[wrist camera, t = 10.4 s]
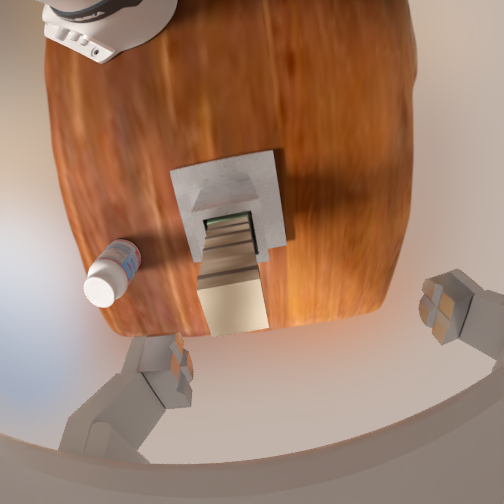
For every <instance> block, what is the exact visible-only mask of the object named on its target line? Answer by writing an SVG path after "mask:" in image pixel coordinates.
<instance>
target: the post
mask: <svg viewBox="0 0 504 504" xmlns="http://www.w3.org/2000/svg"><path fill="white" fill-rule="evenodd" d="M207 225H208V228H207V230H206V232H207V234H206V237H205V244H204V249H203V256H202V261H201V267H200V273H199V276H198V279H197V280H198V285H197V293H198V296H199V299H200V302H201V305H202V308H203V311H204V314H205V317H206V320H207V323H208V326H209V329H210V332H211V335H212V337H217V336H224V335H230V334H236V333H242V332H248V331H253V330H259V329H264V328H269V325H268V320H267V311H266V306H265V300H264V295H263V289H262V284H261V279H260V273H259V268H258V265H257V260H256V255H255V250H254V244H253V239H252V234H251V229H250V223H249V218H248V213H247V212H246V211H244V212H239V213H234V214H229V215H224V216H219V217H214V218H209V219H208V221H207Z"/></svg>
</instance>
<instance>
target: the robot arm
mask: <svg viewBox="0 0 504 504" xmlns="http://www.w3.org/2000/svg"><path fill="white" fill-rule="evenodd" d="M37 1H40V2H42V3H45V7H44V10H43V14H42V18H43V21H45V22H46V24H45V30H44V35H45V36H46V37H48V38H49V39H51V40H54V41H56V42H58V43H60V44H62V45H64V46H66V47H68V48H70V49H72V50H74V51H76V52H78V53H80V54H82V55H84V56H86V57H88V58H90V59H92V60H94V61H96V62H98V63H101V64H102V63H105V62H107V61H109V60H110V59H112V58H113V57H114V56H115V55H117V54H118V53H119V52H121V51H124V50H127V49H130V48H133V47H136V46H138V45H140V44H143V43H144V42H146V41H148V40H150V39H151V38H152V37H154V36H155V35H157V34H158V33H159V32H160V31H161V30H162V29H163V28H164V27H165V26H166V25H167V23H168V22H169V21H170V19H171V18H172V16H173V14H174V12H175V9H176V6H177V0H37ZM97 51H99V53H98V54H97V55H96V52H97ZM422 291H423V292H424V295H423V297H422V298H421V300H420V303H419V314H420V317H421V319H422V321H423V323H424V324H425V325H426V326H429V327H431V328H432V334H433V335H434V336H435V338H436V339H437V340H438V341H439V343H440V344H441V345H444V344H445V343H448V342H451V341H453V340H455V339H458V338H459V339H460V340H462V341H464V342H465V343H467V344H469V345H470V346H472V347H474V348H476V349H478V350H479V351H481V352H483V353H485V354H487V355H488V356H490V357H492V358H494V359H495V360H497V361H496V363H495V365H494V367H493V369H492V373H491V374H490V375H488V376H487V377H485V378H483V379H482V380H480V381H479V382H477V383H475V384H474V385H472V386H470V387H469V388H467V389H465V390H463V391H461V392H460V393H458V394H456V395H454V396H452V397H451V398H449V399H447V400H445V401H443V402H441V403H439V404H437V405H435V406H433V407H431V408H429V409H426V410H424V411H422V412H420V413H418V414H415V415H413V416H411V417H408V418H406V419H404V420H401V421H399V422H397V423H394V424H391V425H389V426H386V427H383V428H381V429H378V430H375V431H372V432H369V433H366V434H364V435H360V436H357V437H354V438H351V439H347V440H344V441H341V442H337V443H333V444H330V445H326V446H322V447H318V448H314V449H310V450H305V451H301V452H296V453H291V454H285V455H280V456H275V457H268V458H261V459H254V460H246V461H236V462H225V463H209V464H150V462H149V461H148V460H147V459H146V458H145V457H143V455H141V454H140V453H139V452H138V451H137V450H138V449H139V447H140V446H141V444H142V443H143V441H144V440H145V439H146V437H147V436H148V435H149V433H150V432H151V430H152V429H153V428H154V426H155V425H156V424H157V422H158V421H159V419H160V418H161V416H162V415H163V414H164V412H165V409H174V408H185V407H191V400H192V389H191V387H190V385H189V383H190V382H191V381H192V380H193V364H192V360H191V357H190V354H189V352H188V351H187V350H185V349H184V348H183V345H184V340H183V338H182V336H181V334H180V333H179V332H174V333H164V334H154V335H145V336H135V337H134V338H132V340H131V343H130V346H129V349H128V352H127V355H126V358H125V362H124V364H123V368H122V371H121V373H120V374H116V375H115V376H113V377H112V378H111V379H110V380H109V381H108V382H107V383H106V384H105V385H104V386H103V387H101V389H99V390H98V391H97V392H96V393H95V394H94V395H93V396H92V397H91V398H89V399H88V400H87V401H86V402H85V403H84V404H83V405H82V406H81V407H80V408H79V409H77V410H76V411H75V412H74V413H73V414H72V415H71V416H70V417H69V418H68V421H67V424H66V427H65V430H64V433H63V436H62V439H61V442H60V446H59V449H58V451H57V450H53V449H49V448H46V447H41V446H38V445H35V444H31V443H28V442H25V441H22V440H19V439H16V438H13V437H10V436H7V435H4V434H2V433H0V504H504V295H502V294H499V293H496V292H493V291H490V290H486V291H485V290H483V289H482V288H481V287H480V286H479V285H478V284H477V283H475V282H474V281H473V280H472V279H471V278H470V277H468V276H467V275H466V274H465V273H464V272H462V271H461V270H459V269H455V270H452V271H449V272H447V273H444V274H441V275H438V276H435V277H432V278H429V279H426V280H425V282H424V283H423V287H422Z"/></svg>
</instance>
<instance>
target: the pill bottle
mask: <svg viewBox="0 0 504 504" xmlns="http://www.w3.org/2000/svg"><path fill="white" fill-rule="evenodd" d="M140 263H141V255H140V252H139V250H138V248H137V247H136V246H135V245H134V244H133V243H131V242H129V241H127V240H122V239H119V240H115V241H113V242H112V243H110V244H109V245H108V247H107V248H106V249H105V250H104V251H103V252H102V253H101V255H100V256H99V257H98V258H97V259H96V260H95V262H94V263H93V264H92V265H91V267H90V269H89V271H88V278H87V280H86V282H85V284H84V292H85V295H86V297H87V298H88V300H89V301H90V302H91V303H93V304H94V305H96V306H98V307H103V308H104V307H109V306H111V305H112V304H113V302H114V301H115V299H118V298H120V297H121V296H122V295H123V294H124V293H125V291H126V290H127V288H128V286H129V284H130V282H131V281H132V279H133V277H134V275H135V273H136V272H137V270H138V268H139V266H140Z"/></svg>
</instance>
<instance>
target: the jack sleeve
mask: <svg viewBox="0 0 504 504" xmlns="http://www.w3.org/2000/svg"><path fill="white" fill-rule="evenodd" d="M170 174H171V178H172V182H173V187H174V191H175V195H176V199H177V203H178V206H179V210H180V214H181V218H182V222H183V225H184V229H185V233H186V236H187V240H188V244H189V247H190V251H191V254H192V258H193V261H194V263H196V262H201V261H202V256H203V249H204V244H205V237H206V234H207V232H206V230H207V228H208V225H207V221H208V219H209V218H214V217H219V216H224V215H229V214H234V213H239V212H244V211H246V212H247V213H248V218H249V223H250V229H251V234H252V239H253V244H254V250H255V255H256V260H257V263H261V262H266V261H270V260H269V254H268V249H269V248H275V247H280V246H285V245H287V243H286V235H285V228H284V221H283V214H282V207H281V200H280V193H279V187H278V180H277V173H276V167H275V161H274V155H273V150H265V151H259V152H253V153H247V154H241V155H236V156H231V157H226V158H221V159H216V160H211V161H206V162H202V163H197V164H193V165H189V166H184V167H180V168H176V169H172V170H171V171H170Z"/></svg>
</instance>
